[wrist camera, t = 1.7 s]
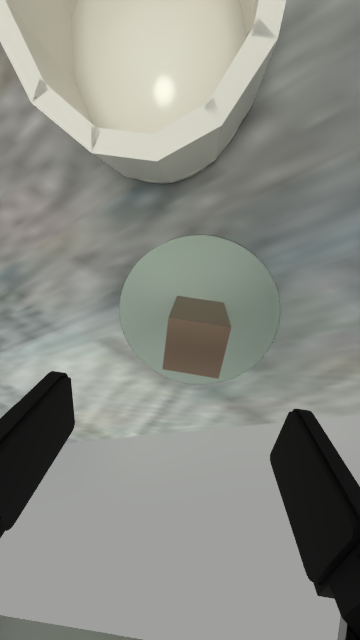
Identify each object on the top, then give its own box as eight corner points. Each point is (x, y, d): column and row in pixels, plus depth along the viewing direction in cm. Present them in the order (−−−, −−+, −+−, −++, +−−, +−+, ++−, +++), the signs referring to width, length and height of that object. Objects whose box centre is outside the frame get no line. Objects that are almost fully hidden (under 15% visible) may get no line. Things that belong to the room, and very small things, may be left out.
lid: (298, 248, 17) (348, 256, 11) (252, 386, 22) (269, 440, 17) (125, 223, 17) (88, 220, 12) (122, 364, 23) (96, 409, 17)
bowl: (285, -79, 11) (374, -407, 5) (232, 193, 15) (248, 172, 10) (57, -96, 11) (-84, -414, 6) (73, 172, 16) (5, 141, 10)
